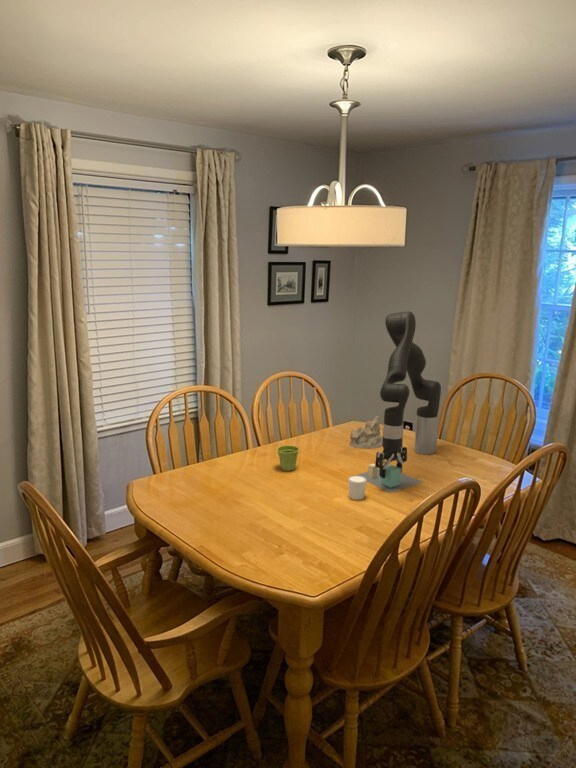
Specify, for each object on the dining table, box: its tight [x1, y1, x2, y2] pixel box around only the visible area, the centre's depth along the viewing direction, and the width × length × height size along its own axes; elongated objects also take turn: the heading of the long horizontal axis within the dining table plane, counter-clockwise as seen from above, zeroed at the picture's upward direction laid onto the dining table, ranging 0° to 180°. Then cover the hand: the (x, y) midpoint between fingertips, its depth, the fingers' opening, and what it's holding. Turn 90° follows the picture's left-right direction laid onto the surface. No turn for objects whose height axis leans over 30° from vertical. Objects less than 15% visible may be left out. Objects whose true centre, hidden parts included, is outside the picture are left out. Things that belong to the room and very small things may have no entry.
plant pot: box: [276, 444, 300, 472], centre depth 235 cm, size 9×9×9 cm
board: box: [354, 463, 424, 494], centre depth 222 cm, size 18×20×6 cm
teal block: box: [381, 464, 401, 488], centre depth 216 cm, size 5×5×7 cm
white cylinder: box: [347, 475, 367, 501], centre depth 208 cm, size 7×7×7 cm
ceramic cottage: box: [349, 415, 383, 450], centre depth 266 cm, size 16×16×15 cm
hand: (390, 475), depth 216 cm, fingers open, 8 cm apart
